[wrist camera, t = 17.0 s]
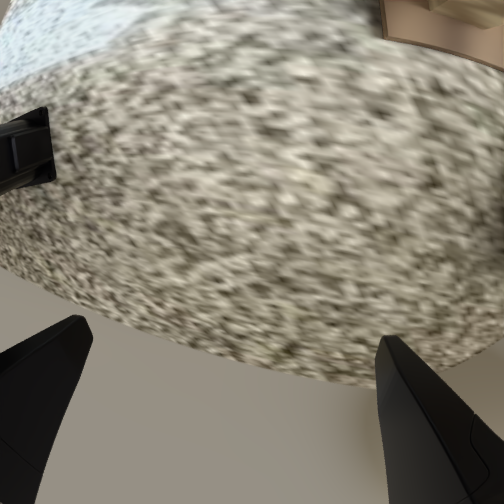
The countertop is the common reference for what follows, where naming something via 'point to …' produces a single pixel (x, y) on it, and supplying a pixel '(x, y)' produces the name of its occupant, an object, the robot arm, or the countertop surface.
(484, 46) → the walnut board
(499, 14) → the pine block
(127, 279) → the countertop surface
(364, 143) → the countertop surface
